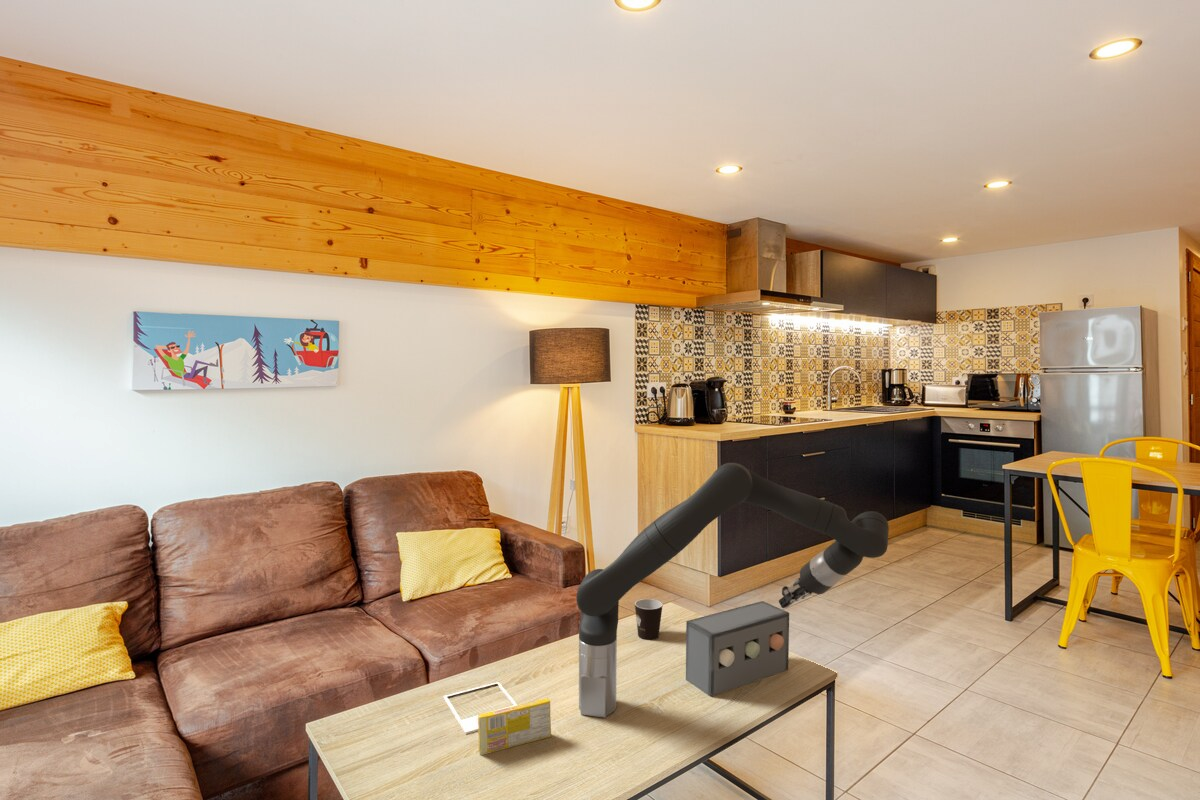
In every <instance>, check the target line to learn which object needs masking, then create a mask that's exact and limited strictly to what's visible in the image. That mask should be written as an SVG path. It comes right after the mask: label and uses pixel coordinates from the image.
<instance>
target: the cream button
mask: <svg viewBox="0 0 1200 800" xmlns="http://www.w3.org/2000/svg"><path fill="white" fill-rule="evenodd" d="M733 661H734V653H733V652H732V651H730V650H729V649H727V648H724V649H721V650H719V663H721V664H722V665H724V666H726V667H728V666H730V665H731V664H732V663H733Z"/></svg>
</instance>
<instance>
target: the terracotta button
mask: <svg viewBox="0 0 1200 800" xmlns="http://www.w3.org/2000/svg"><path fill="white" fill-rule="evenodd" d="M783 643H784V639H783V637H782V636H780V635H778V634H776V633H773V634H770V638H769V647H771V648H773V649H775V650H780V649H781V648H782V646H783Z"/></svg>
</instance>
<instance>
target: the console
mask: <svg viewBox="0 0 1200 800" xmlns="http://www.w3.org/2000/svg"><path fill="white" fill-rule="evenodd" d="M685 623H686V624H685V625H686V626H685V628H686V630H685V631H686V632H685V634H686V635H685V637H686V638H685V680H686V681H687V682H688V683H690V684H691V685H693V686H694V687H695V688H697V689H699V690H700V691H701V692H703V693H705V694H706V695H708V696H709V697H714V696H718V695H720V694H723V693H726V692H728V691H731V690H734V689H736V688H740V687H743V686H745V685H749V684H751V683H754V682H757V681H759V680H763V679H765V678H769V677H771V676H774V675H778V674H780V673H782V672H786V671H788V670H789V656H790V655H789V651H790V650H789V645H790V612H788V611H786V610H784V609H783V608H782V609H781V608H779V607H778V606H775V605H772V604H770V603H768V602H766V601H761V600H760V601H757V602H754V603H751V604H746V605H742V606H738V607H735V608H734V607H733V608H731V609H727V610H723V611H721V612H720V611H719V612H716V613H711V614H708V615H704V616H700V617H696V618H693V619H689V620H686V621H685ZM773 633H776V634H778V635H780V636H782V637H783V639H784V643H783V646H782V648H781V649H780V650H775V649H773V648H771V647H769V638H770V634H773ZM750 640H752V641H754V642H756V643H757V644H759V646H760V651H759V654H758V656H757V657H755V658H751V657H749V656H747V655H745V642H747V641H750ZM724 648H727V649H729V650H730V651H732V652H733V653H734V661H733V663H732V664H731V665H730V666H728V667H726V666H724V665H722V664H721V663H719V650H721V649H724Z"/></svg>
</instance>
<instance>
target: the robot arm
mask: <svg viewBox="0 0 1200 800" xmlns="http://www.w3.org/2000/svg"><path fill="white" fill-rule="evenodd" d="M741 503H746V504H747V503H748V504H751V505H756V506H758V507H762V508H765V509H768V510H770V511H772V512H773V513H776V514H778V515H781V516H782V517H784V518H786V519H788V520H790V521H792V522H795V523H796V524H799V525H801V526H803V527H805V528H808V529H810V530H813V531H816V532H818V533H821V534H822V535H823V534H824V535H826V536H830V538H831V539H833V540H834V542H832V543H831V544H830V545H829V546H827V547H826V548H825V549H824V550H822V551H820V552H818V553H817V554H816V555H815V556H814V557H813V558H811V559H810V560H809V561H808V562H806V563H805V564H804V565H803V566H801V568H800V570H799V578H797V579H795V580H794V582H793V583H792V584H791V585H790V586H787V585H786V586H783V587H782V588H781V595H782V597H781V598H780V599H779V600H778V603H779V606H780V607H781V608H782V609H786V608H788V607H789V606H792V604H793V603H795V602H799V600H802V599H803V600H804V599H806V598H807V597H809V596H811V595H813V594H816V595H823V594H825V593H827V592H828V591H830V589H832V588H833V587H834V586H836V585H837V584H839V582H841V581H843V579H844V578H845V577H846V576H847V575H848V574H850V573H851V572H852V571H854V570H855V569H857V567H858V566H859V565H861V563H862V562H863V559H864V558H870V559H875V558H880V557H882V556H884V555H885V553H886V552H887V550H888V546H889V530H890V526H889V522H888V520H887V518H886V517H885V516H884V515H883V514H882V513H880V512H878V511H864V512H862V513H860V514H858V515H857V516H855V517H854V518H853V519H852V520H850V519H849V518H848V515H847V512H846V510H845V509H844V507H842V506H840V505H838V504H835V503H832V502H829V501H827V500H824V499H821V498H818V497H816V496H814V495H810V494H807V493H803V492H800V491H798V490H794V489H791V488H789V487H786V486H783V485H780V484H778V483H775V482H773V481H771V480H769V479H767V478H764V477H762V476H761V475H759V474H757V473H755V472H754V471H751V470H749V468H746V467H745V466H744V465H743V464H740V463H738V462H727V463H723V464H721V465H720V466H719V467H718V468H717V469H716V470H715V471H714V472H713V473H712V475H710V476H709V478H708V479H707V480H706V481H705V482H704V483H703V485H701V486H700V487H699V488H698V489H697V490H696V491H695V492H694V493H692V495H690V497H688V498H686V499H685V500H684V501H682V502H680V503H679V504H677V505H675V506H673V507H672V508H671V509H668V510H667V511H666V512H665V513H662V515H660V516H659V517H658V518H656V519H655V520H653V521H652V522H651V523H650V524H648V525H647V526H646V527H645V528H644V529H643V530H641V532H640V533H639V534H638V535H636V536H635V538H634V539H633V540H632V541H631V542H630V543H629V544H628V546H627V547H625V549H624V550H623V551H622V553H620V555H619V556H618V557H617V558H616V559H615V560H614V561H613V562H612V563H610V564H609V565H608V566H607V567H605V568H604V569H603V568H596V569H593V570H591V571H589V572H588V573H587V574H586V575H585V576H584V577H583V579H582V580H581V583H579V585H578V587H577V591H576V596H575V598H576V604H577V608H578V609H579V610H580V612H581V615H580V616H581V617H580V621H579V622H580V623H579V628H578V708H579V710H580V715H583V716H584V715H585V716H590V717H596V718H597V717H598V718H607V716H608V715H610V714H613V713H614V712H615V711H616V709H617V659H618V658H617V656H618V655H617V653H618V652H617V651H618V650H617V647H618V646H617V645H618V641H617V640H618V639H617V638H618V625H619V608H620V607H619V603H620V602H619V601H620V600H621V599H622V598H623V597H624V596H625V595H626V594H627V593H628V592H629V591H630V590H631V589H632V588H633V587H635V586H636V585H637V584H639V583H640V582H641V581H643V580H644V579H646V578H648V577H649V576H650V575H652V574H653V573H654V572H656V571H657V570H659V569H660V568H661V567H663V566H664V565H665V564H667V563H668V562H669V561H671V560H672V559H673V558H674V557H676V556H677V555H678V554H679V553H680V552H682V551H683V550H684V549H685V548H686V547H687V546H689V544H690V543H692V542H693V541H694V540H695V539H696V538H697V537H698V536H699V534H701V532H702V531H703V530H704V529H705V528H706V527H707V526H709V524H711V523H712V522H713V521H714V520H716V519H718V518H719V517H720V516H722V515H723V514H725V513H726V512H728V511H729V510H731V509H732V508H735V507H736V506H738V505H740V504H741Z"/></svg>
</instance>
